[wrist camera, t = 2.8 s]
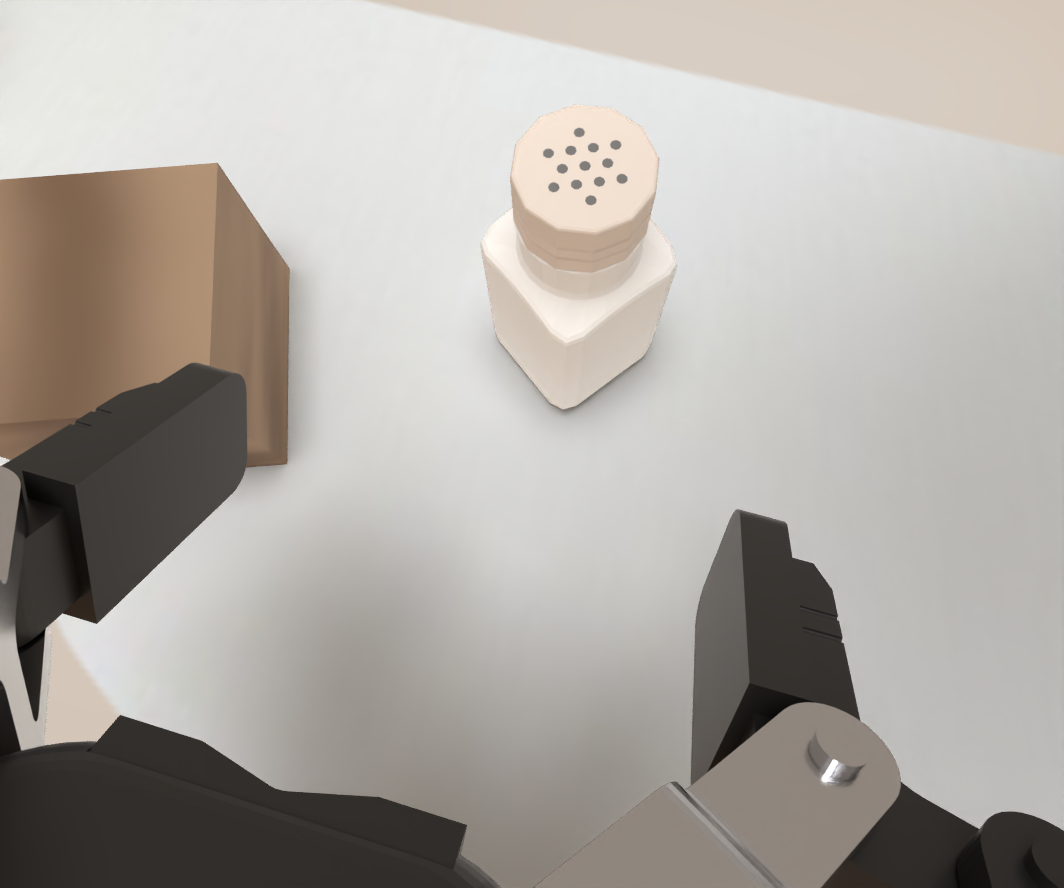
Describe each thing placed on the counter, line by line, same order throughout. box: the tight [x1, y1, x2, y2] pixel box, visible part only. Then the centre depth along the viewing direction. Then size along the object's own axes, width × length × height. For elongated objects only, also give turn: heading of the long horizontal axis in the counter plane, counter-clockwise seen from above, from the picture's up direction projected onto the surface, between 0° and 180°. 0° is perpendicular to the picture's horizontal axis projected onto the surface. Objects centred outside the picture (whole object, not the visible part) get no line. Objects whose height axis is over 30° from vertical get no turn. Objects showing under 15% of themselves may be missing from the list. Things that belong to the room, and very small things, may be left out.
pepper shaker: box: [481, 105, 677, 410], centre depth 21 cm, size 4×4×10 cm
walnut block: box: [0, 163, 289, 467], centre depth 22 cm, size 7×7×6 cm
